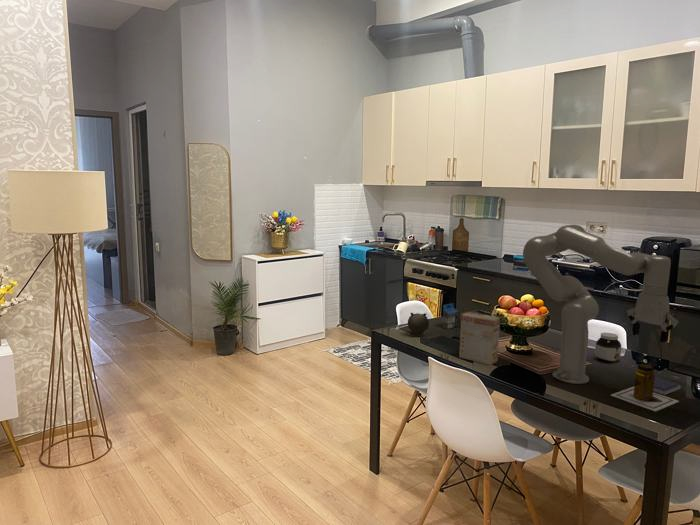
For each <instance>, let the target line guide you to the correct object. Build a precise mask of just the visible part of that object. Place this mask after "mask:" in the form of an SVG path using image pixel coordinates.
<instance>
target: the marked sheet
mask: <svg viewBox="0 0 700 525" xmlns="http://www.w3.org/2000/svg"><path fill="white" fill-rule="evenodd" d="M629 394H634V386H632V387H628V388H626V389H623V390H620V391H618V392H614V393H611V394H610V396H611V397H614V398H616V399H619V400H622V401H625V402H627V403H630V404H633V405H635V406H639V407H642V408H644V409H647V410H650V411H653V412H658V411H661V410H663V409H666V408H667V407H668V408H669V407H670V406H672V405H674V404H676V403H680V401H679V400H678V399H674V398H671V397H669V396H666V395H663V394H660V393H657V392H653V396H654V397H656V398H658V399H660V400H662V401H653V402H640V401H639V400H637V399H635V398H633V397H632V396H630V395H629Z"/></svg>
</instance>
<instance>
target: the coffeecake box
mask: <svg viewBox="0 0 700 525" xmlns="http://www.w3.org/2000/svg"><path fill="white" fill-rule="evenodd" d="M460 317H461V318H460V335H459V336H460V337H459V353H458V354H459V356H458V358H460V359H464V360H469V361H473V362H476V363H477V362H478V363H480V364H485V365H490V366H491V365H493V364H495V363H497V362H498V358H499V357H498V356H499V340H500V325H501V324H500V323H501V317H499V316H494V315H487V314H483V313H477V312H472V311H466V312H465V313H462V314H461V316H460Z"/></svg>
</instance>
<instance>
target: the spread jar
mask: <svg viewBox="0 0 700 525" xmlns="http://www.w3.org/2000/svg"><path fill="white" fill-rule="evenodd" d="M618 339H619V335H618V334H616V333H611V332H601V333H600V337H599V338H598V339H597V341H596V343H595V345H594V346H595V348H594V356H595V358H596V359H597V360H598V361H599V362H602V363H606V364H614V363H617V362H618V361H619V360H620V358H621V353H622V344H621V342H620V341H619V340H618Z"/></svg>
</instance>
